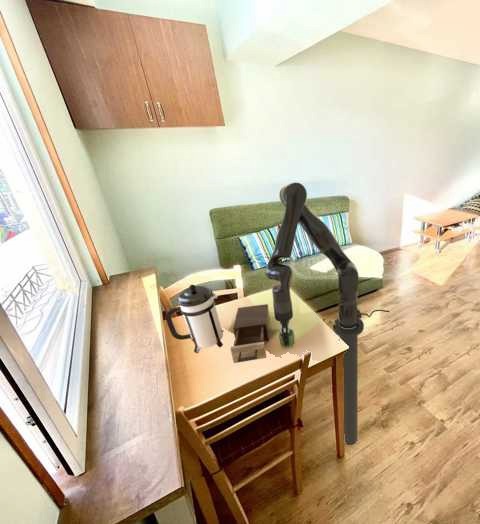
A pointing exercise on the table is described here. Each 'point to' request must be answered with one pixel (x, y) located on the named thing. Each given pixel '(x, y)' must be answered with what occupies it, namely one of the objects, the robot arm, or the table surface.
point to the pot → (291, 339)
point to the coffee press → (198, 317)
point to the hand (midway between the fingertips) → (286, 339)
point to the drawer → (249, 344)
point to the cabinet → (252, 318)
